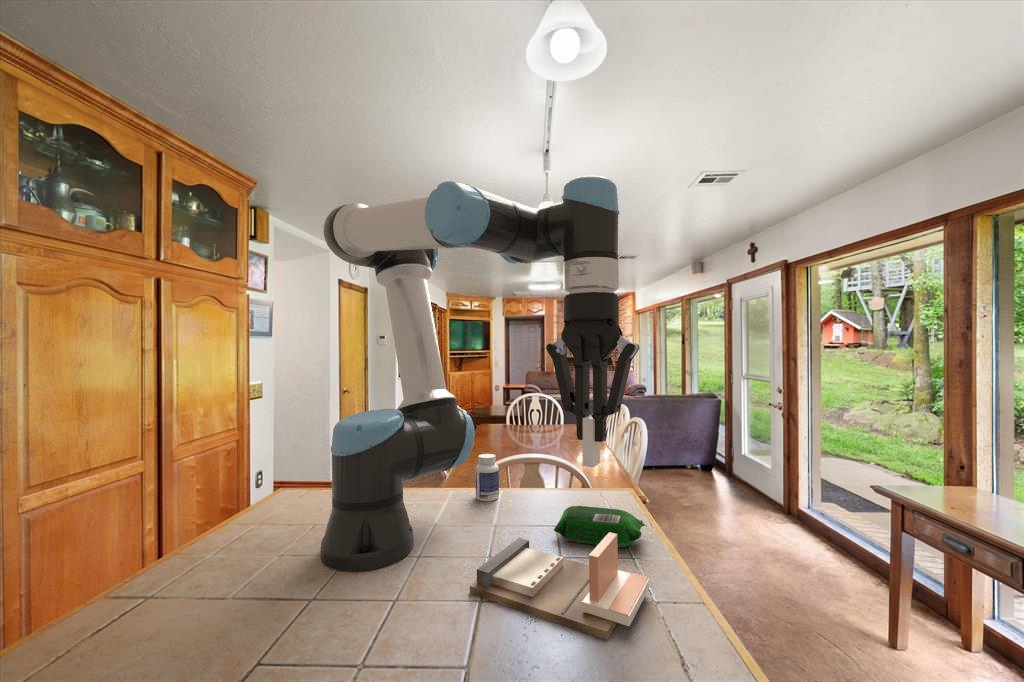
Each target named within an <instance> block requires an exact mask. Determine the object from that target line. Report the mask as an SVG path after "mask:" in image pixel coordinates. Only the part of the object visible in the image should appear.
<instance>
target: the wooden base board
mask: <svg viewBox="0 0 1024 682" xmlns="http://www.w3.org/2000/svg"><path fill="white" fill-rule="evenodd" d="M469 593H470V594H471V595H475V596H478V597H480V598H484V599H486V600H489V601H492V602H495V603H498V604H500V605H503V606H506V607H508V608H512V609H515V610H518V611H520V612H523V613H527V614H529V615H533V616H535V617H538V618H542V619H544V620H547V621H551V622H552V623H555V624H559V625H562V626H565V627H567V628H571V629H574V630H576V631H579V632H582V633H584V634H588V635H590V636H594V637H596V638H600V639H602V640H605V641H608V640H609V638H610V637H611V634H612V633H613V631H614V629H615V627H616V625H617V624H618V623H617V622H614V621H611V620H608V619H605V618H602V617H598V616H595V615H592V614H589V613H586V612H583V611H582V601H583V600H584V599H585V597H586V596H587V595H588V593H589V564H587V563H582V562H580V561H579V562H578V561H576V560H571V559H567V558H564V557H563V556H559V555H555V554H553V553H552V554H551V553H548V552H544V551H539V550H537V549H533V548H530V540H529V539H525V538H521V537H518V538H517V539H515V540H514V541H513V542H511V543H510V544H508V545H507V546H506V547H504V548H503V549H502V550H500V551H499V552H498V553H497V554H495V555H494V556H492V557H491V558H490V559H488V560H487V561H486V562H484V563H483V564H482V565H481V566H479V567H478V568H477V569H476V580H475V581H474V582H473V583H471V584H470V585H469Z"/></svg>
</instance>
